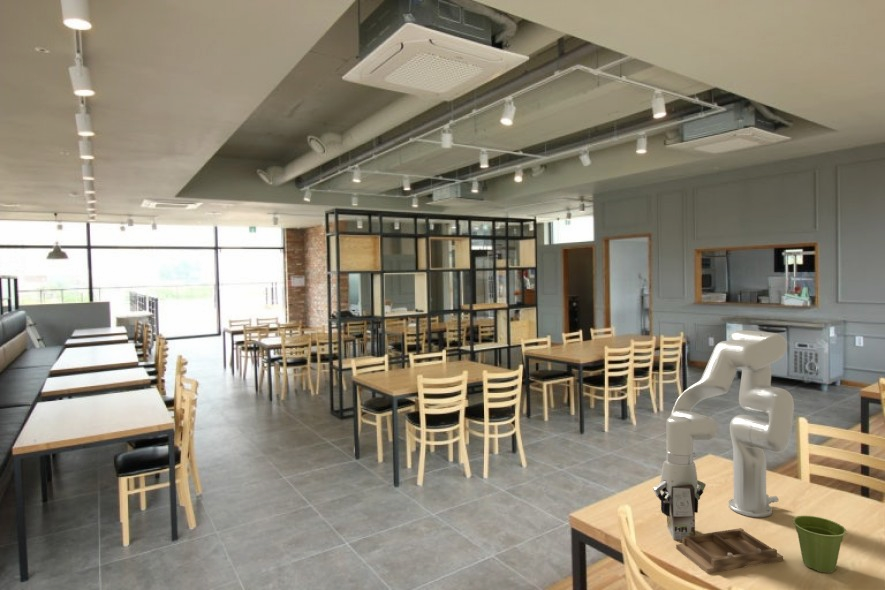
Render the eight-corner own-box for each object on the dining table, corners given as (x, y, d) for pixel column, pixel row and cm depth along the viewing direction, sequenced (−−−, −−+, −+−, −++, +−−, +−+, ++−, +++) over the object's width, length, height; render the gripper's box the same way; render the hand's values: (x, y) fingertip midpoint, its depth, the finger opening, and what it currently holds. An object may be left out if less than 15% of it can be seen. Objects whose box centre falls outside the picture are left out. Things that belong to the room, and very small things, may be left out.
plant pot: (858, 574, 138) (858, 532, 138) (820, 581, 136) (820, 538, 135) (817, 551, 150) (817, 512, 149) (782, 557, 147) (781, 518, 147)
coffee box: (696, 541, 157) (695, 488, 156) (673, 540, 158) (672, 487, 158) (688, 526, 166) (687, 476, 165) (666, 525, 167) (665, 475, 167)
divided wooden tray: (747, 537, 158) (746, 524, 158) (783, 560, 146) (783, 546, 145) (676, 548, 154) (676, 535, 153) (707, 573, 141) (707, 558, 141)
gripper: (696, 451, 167) (696, 504, 167) (647, 456, 163) (647, 510, 164) (712, 459, 159) (712, 514, 160) (661, 464, 156) (662, 521, 156)
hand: (679, 512), depth 162 cm, fingers open, 9 cm apart
